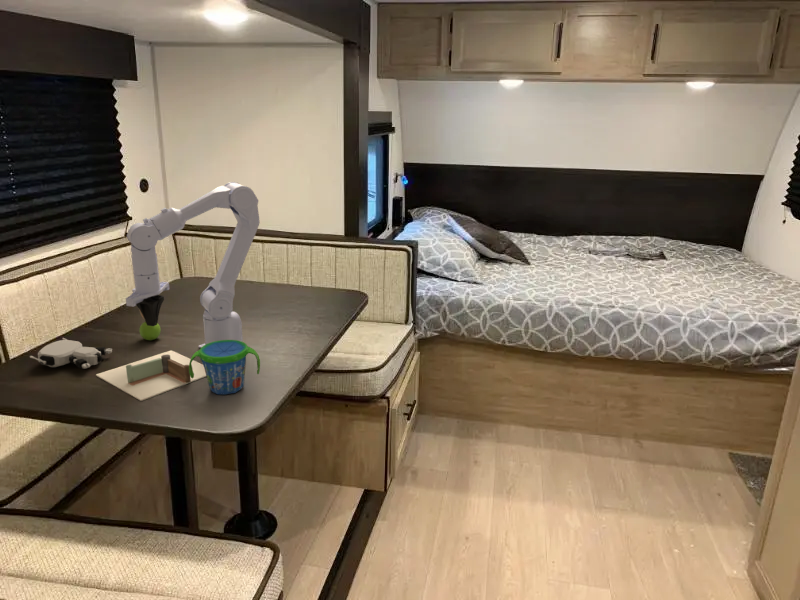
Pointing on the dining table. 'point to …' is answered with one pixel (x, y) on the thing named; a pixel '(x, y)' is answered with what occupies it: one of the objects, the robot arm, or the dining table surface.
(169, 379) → the card
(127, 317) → the dining table surface
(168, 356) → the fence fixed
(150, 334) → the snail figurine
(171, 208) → the robot arm
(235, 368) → the snack cup
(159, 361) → the fence gate
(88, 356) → the robot toy
